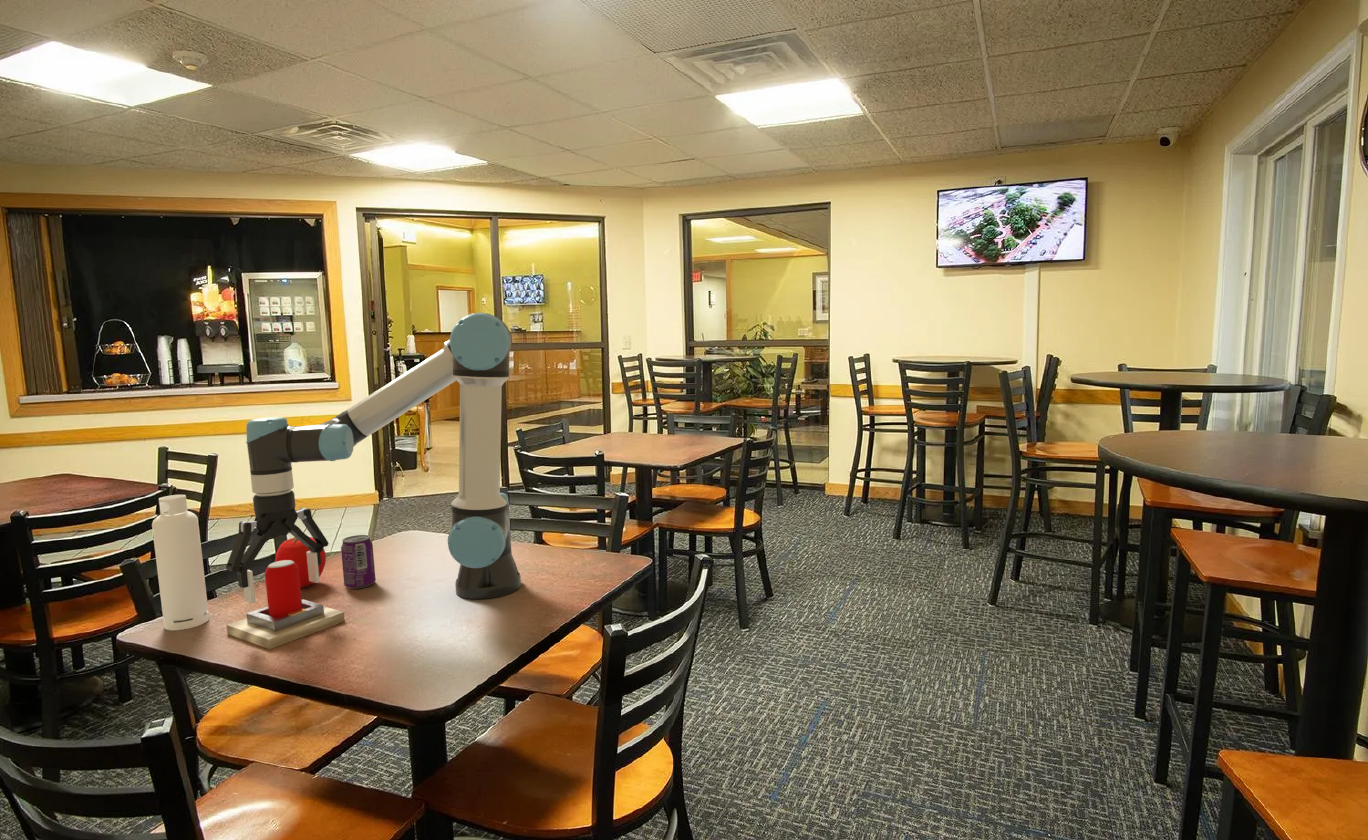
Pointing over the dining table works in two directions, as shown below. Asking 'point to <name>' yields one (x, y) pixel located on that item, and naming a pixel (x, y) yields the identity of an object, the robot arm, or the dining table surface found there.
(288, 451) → the robot arm
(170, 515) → the bottle
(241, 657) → the dining table surface
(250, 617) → the frame
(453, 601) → the dining table surface
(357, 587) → the beverage can
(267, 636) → the hub board
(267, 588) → the beverage can
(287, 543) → the tomato
